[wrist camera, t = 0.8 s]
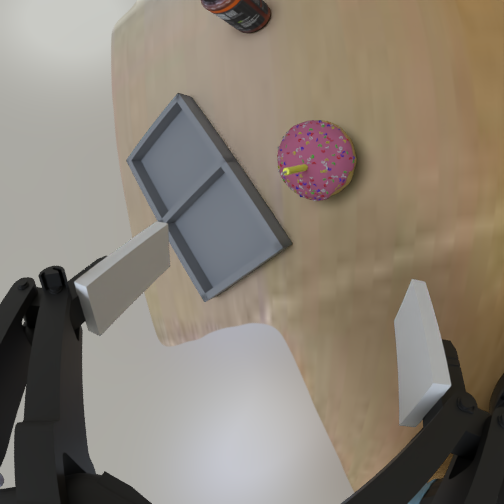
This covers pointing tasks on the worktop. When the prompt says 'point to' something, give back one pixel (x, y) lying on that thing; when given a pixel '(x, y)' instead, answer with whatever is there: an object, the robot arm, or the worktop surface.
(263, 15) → the supplement bottle
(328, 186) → the cupcake
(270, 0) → the worktop surface
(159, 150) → the grey divided tray
